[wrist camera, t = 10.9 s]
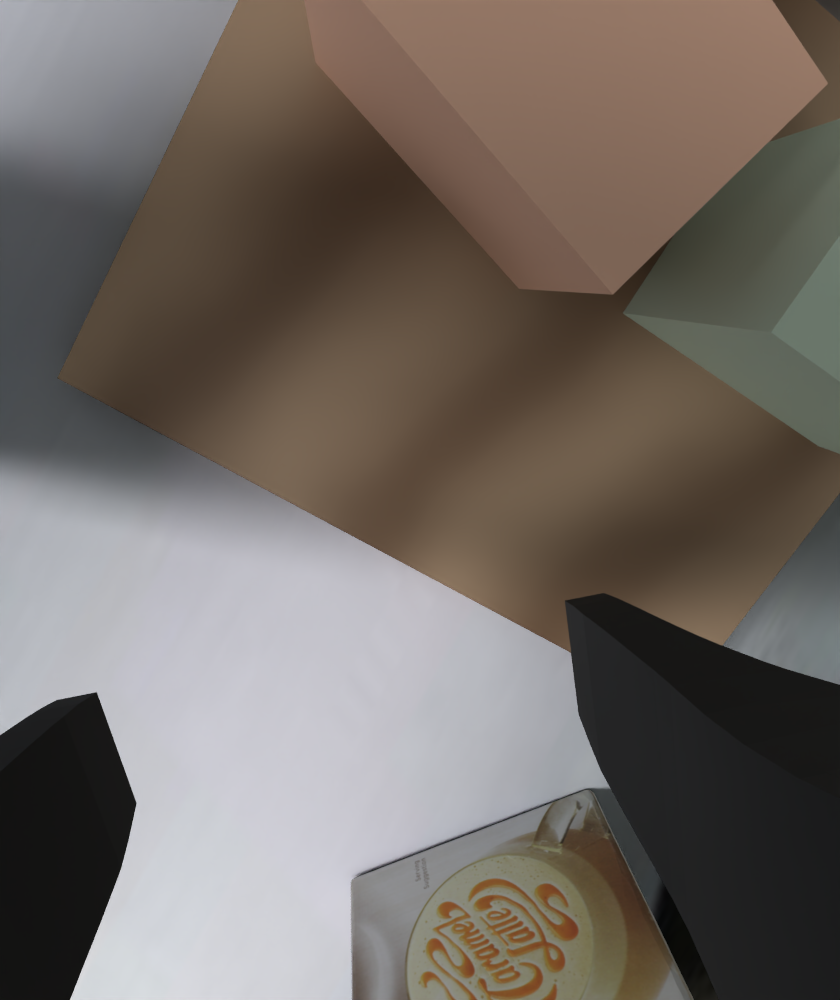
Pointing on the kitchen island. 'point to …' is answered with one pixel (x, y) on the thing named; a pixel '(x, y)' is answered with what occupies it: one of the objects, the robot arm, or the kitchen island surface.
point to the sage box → (762, 284)
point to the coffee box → (512, 917)
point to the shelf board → (435, 363)
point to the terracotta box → (568, 115)
